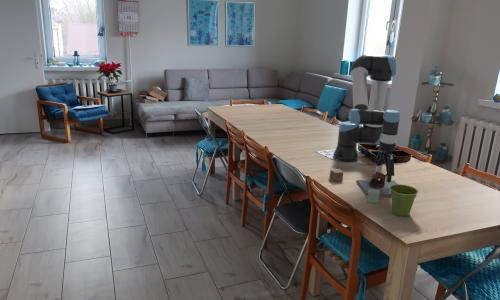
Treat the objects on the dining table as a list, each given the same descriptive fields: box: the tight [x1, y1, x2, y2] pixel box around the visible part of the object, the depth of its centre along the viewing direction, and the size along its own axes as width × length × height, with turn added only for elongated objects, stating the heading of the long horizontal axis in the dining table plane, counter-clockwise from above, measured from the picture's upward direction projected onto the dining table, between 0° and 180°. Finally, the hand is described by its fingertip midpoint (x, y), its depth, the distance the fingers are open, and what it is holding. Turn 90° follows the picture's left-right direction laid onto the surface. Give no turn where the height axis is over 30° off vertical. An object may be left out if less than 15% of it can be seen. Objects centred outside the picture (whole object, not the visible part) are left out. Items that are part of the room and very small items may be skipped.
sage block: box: [366, 188, 380, 204], centre depth 189 cm, size 5×5×5 cm
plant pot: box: [390, 183, 420, 217], centre depth 176 cm, size 12×12×11 cm
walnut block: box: [329, 168, 344, 182], centre depth 215 cm, size 5×5×5 cm
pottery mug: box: [369, 171, 386, 189], centre depth 202 cm, size 12×10×8 cm
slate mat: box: [356, 179, 398, 198], centre depth 204 cm, size 18×20×2 cm
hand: (382, 182), depth 203 cm, fingers open, 13 cm apart
